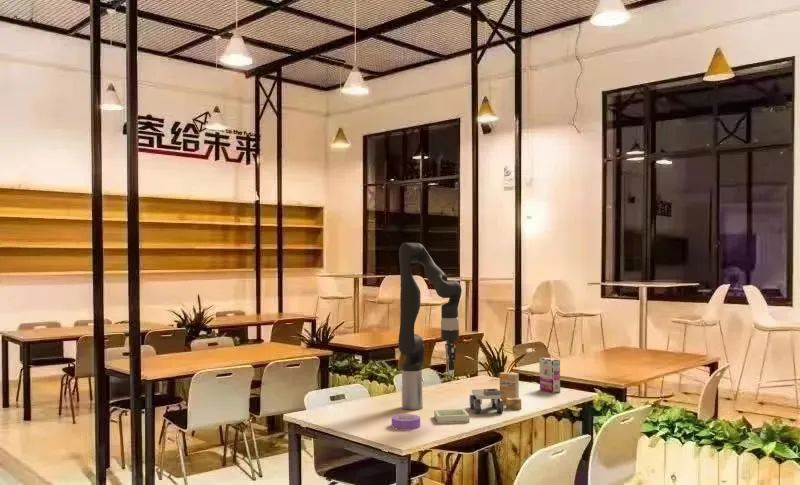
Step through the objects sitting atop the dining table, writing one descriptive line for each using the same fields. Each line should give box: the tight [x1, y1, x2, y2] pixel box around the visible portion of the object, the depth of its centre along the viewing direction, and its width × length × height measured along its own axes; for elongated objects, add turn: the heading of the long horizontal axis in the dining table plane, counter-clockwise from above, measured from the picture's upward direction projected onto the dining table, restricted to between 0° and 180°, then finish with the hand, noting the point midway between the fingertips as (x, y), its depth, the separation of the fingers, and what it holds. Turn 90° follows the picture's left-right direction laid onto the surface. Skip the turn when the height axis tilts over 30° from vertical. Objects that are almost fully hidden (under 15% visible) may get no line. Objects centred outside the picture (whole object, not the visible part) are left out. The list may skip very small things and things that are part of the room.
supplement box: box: [499, 371, 520, 402], centre depth 321 cm, size 8×5×13 cm, turn 62°
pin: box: [447, 356, 455, 377], centre depth 285 cm, size 3×3×10 cm
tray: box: [433, 408, 470, 425], centre depth 285 cm, size 13×12×3 cm
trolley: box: [468, 388, 504, 415], centre depth 301 cm, size 12×16×10 cm
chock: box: [505, 397, 522, 411], centre depth 304 cm, size 6×4×4 cm, turn 95°
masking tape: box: [391, 413, 421, 430], centre depth 275 cm, size 12×12×4 cm
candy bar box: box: [538, 357, 561, 394], centre depth 343 cm, size 11×5×16 cm, turn 25°
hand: (450, 369), depth 285 cm, fingers closed on pin, 2 cm apart
